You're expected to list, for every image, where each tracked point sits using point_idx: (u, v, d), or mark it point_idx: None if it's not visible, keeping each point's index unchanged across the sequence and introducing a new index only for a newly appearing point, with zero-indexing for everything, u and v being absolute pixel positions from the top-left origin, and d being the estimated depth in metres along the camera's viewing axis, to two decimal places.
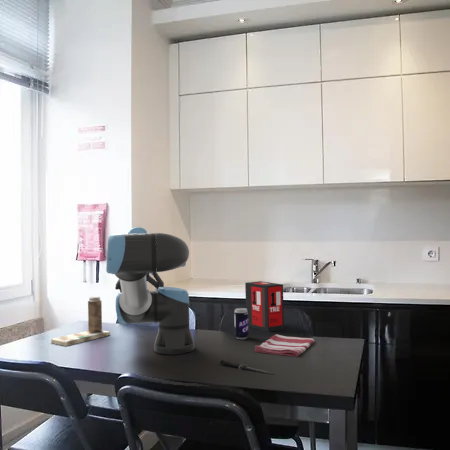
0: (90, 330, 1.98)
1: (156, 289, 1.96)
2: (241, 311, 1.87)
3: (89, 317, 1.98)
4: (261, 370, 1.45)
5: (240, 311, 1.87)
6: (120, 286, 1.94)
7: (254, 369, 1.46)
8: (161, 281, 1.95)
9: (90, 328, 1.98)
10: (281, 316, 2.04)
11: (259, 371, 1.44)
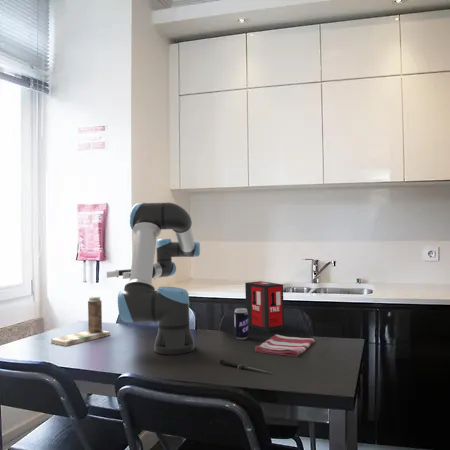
0: (90, 330, 1.98)
1: None
2: (241, 311, 1.87)
3: (89, 317, 1.98)
4: (260, 370, 1.46)
5: (240, 311, 1.87)
6: (118, 272, 2.19)
7: (253, 369, 1.46)
8: None
9: (90, 328, 1.98)
10: (281, 316, 2.04)
11: (258, 371, 1.44)
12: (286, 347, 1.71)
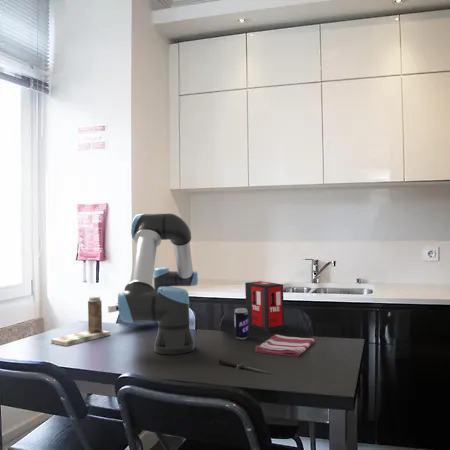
0: (90, 330, 1.98)
1: None
2: (241, 311, 1.87)
3: (89, 317, 1.98)
4: (259, 370, 1.46)
5: (240, 311, 1.87)
6: None
7: (252, 369, 1.46)
8: None
9: (90, 328, 1.98)
10: (281, 316, 2.04)
11: (257, 371, 1.44)
12: (286, 347, 1.71)
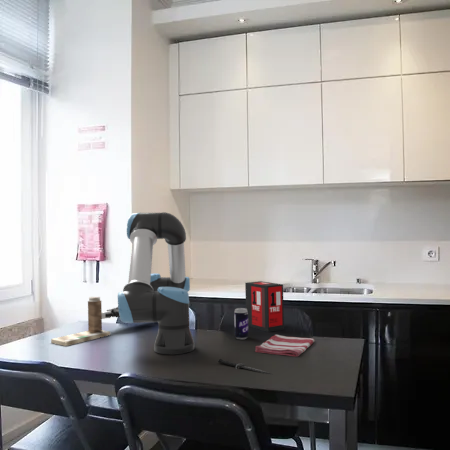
0: (90, 330, 1.98)
1: (110, 311, 2.06)
2: (241, 311, 1.87)
3: (89, 317, 1.98)
4: None
5: (240, 311, 1.87)
6: None
7: (251, 368, 1.46)
8: None
9: (90, 328, 1.98)
10: (281, 316, 2.04)
11: (256, 370, 1.45)
12: (286, 347, 1.71)
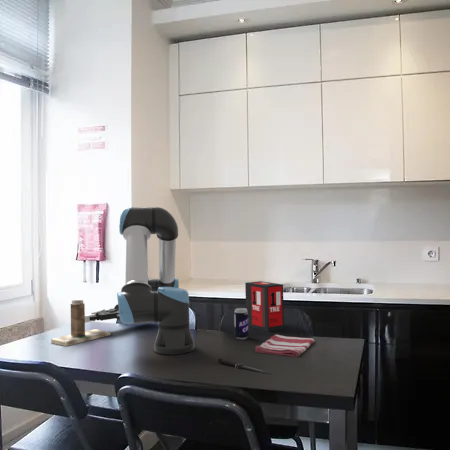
0: (73, 334, 1.91)
1: (95, 314, 1.99)
2: (241, 311, 1.87)
3: (72, 321, 1.91)
4: (257, 369, 1.46)
5: (240, 311, 1.87)
6: None
7: (250, 368, 1.47)
8: (106, 316, 1.99)
9: (73, 332, 1.91)
10: (281, 316, 2.04)
11: (255, 370, 1.45)
12: (286, 347, 1.71)
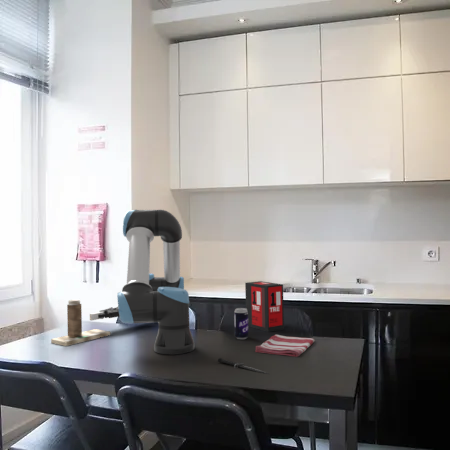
0: (69, 335, 1.89)
1: (103, 312, 2.03)
2: (241, 311, 1.87)
3: (68, 321, 1.90)
4: (256, 369, 1.46)
5: (240, 311, 1.87)
6: None
7: (249, 368, 1.47)
8: (114, 314, 2.03)
9: (69, 333, 1.89)
10: (281, 316, 2.04)
11: (254, 370, 1.45)
12: (286, 347, 1.71)
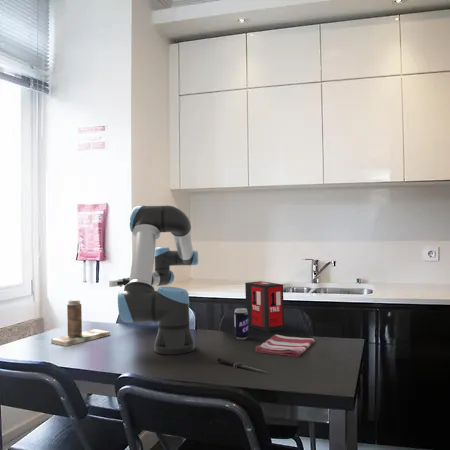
0: (69, 335, 1.89)
1: (122, 279, 2.12)
2: (241, 311, 1.87)
3: (68, 321, 1.90)
4: (255, 369, 1.47)
5: (240, 311, 1.87)
6: None
7: (249, 367, 1.47)
8: None
9: (69, 333, 1.89)
10: (281, 316, 2.04)
11: (253, 370, 1.45)
12: (286, 347, 1.71)
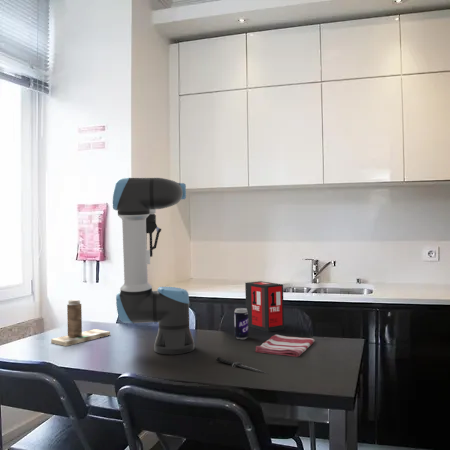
0: (69, 335, 1.89)
1: (149, 250, 2.15)
2: (241, 311, 1.87)
3: (68, 321, 1.90)
4: None
5: (240, 311, 1.87)
6: None
7: (247, 367, 1.48)
8: None
9: (69, 333, 1.89)
10: (281, 316, 2.04)
11: (251, 369, 1.46)
12: (286, 347, 1.71)
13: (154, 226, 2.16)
